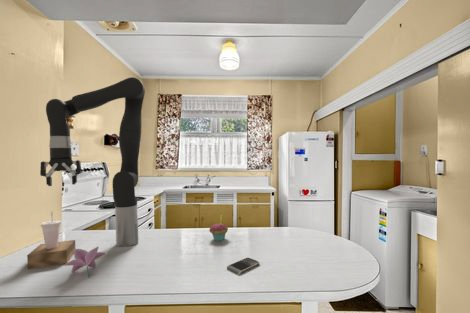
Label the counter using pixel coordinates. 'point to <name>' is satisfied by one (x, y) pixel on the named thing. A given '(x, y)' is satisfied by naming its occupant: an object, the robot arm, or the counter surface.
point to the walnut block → (51, 254)
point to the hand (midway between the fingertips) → (62, 185)
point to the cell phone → (242, 266)
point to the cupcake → (218, 230)
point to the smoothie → (51, 232)
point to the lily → (85, 259)
